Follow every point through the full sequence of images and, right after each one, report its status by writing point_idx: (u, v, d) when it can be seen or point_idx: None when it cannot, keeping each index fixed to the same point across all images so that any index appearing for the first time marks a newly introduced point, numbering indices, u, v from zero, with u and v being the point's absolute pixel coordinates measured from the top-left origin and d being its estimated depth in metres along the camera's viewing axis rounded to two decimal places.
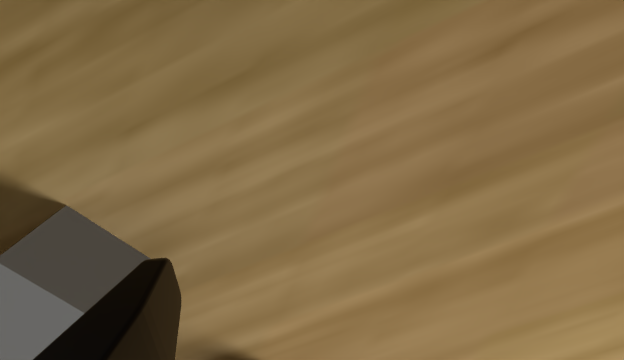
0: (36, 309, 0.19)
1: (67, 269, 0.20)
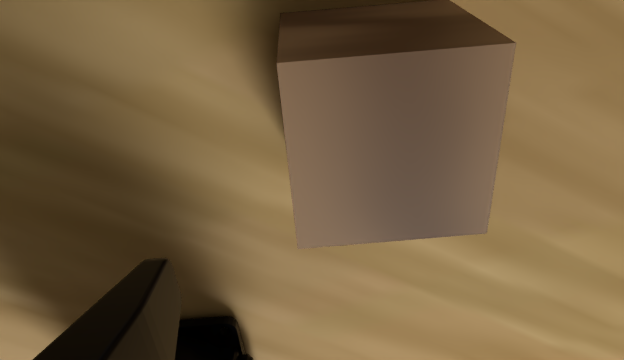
0: None
1: None
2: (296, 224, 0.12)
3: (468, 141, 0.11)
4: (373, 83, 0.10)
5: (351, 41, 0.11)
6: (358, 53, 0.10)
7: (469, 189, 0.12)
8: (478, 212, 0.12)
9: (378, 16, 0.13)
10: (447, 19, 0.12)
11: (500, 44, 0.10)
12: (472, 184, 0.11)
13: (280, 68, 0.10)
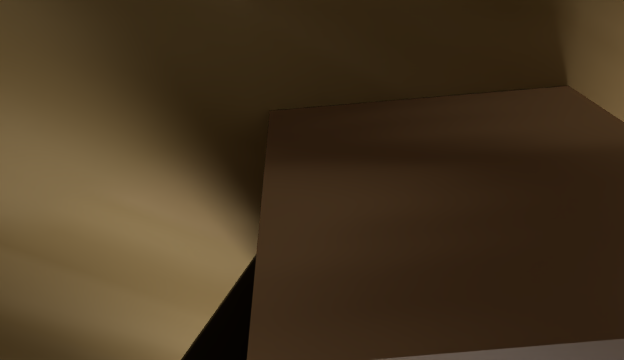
0: None
1: None
2: None
3: None
4: None
5: (431, 251, 0.04)
6: (468, 327, 0.04)
7: None
8: None
9: (460, 138, 0.06)
10: (618, 163, 0.06)
11: None
12: None
13: None
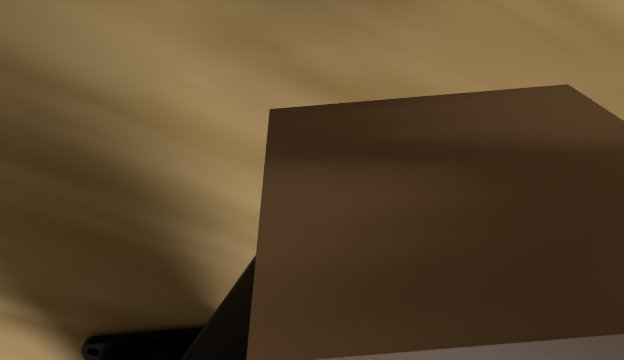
0: None
1: None
2: None
3: None
4: None
5: (430, 247, 0.04)
6: (468, 323, 0.04)
7: None
8: None
9: (459, 136, 0.06)
10: (617, 160, 0.06)
11: None
12: None
13: None
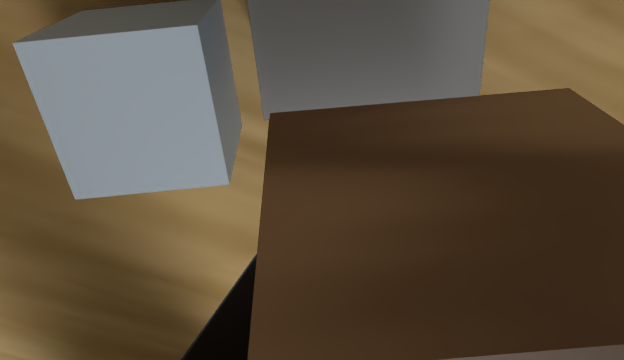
0: None
1: None
2: None
3: None
4: None
5: (432, 255, 0.04)
6: (468, 332, 0.04)
7: None
8: None
9: (460, 141, 0.06)
10: (618, 165, 0.06)
11: None
12: None
13: None
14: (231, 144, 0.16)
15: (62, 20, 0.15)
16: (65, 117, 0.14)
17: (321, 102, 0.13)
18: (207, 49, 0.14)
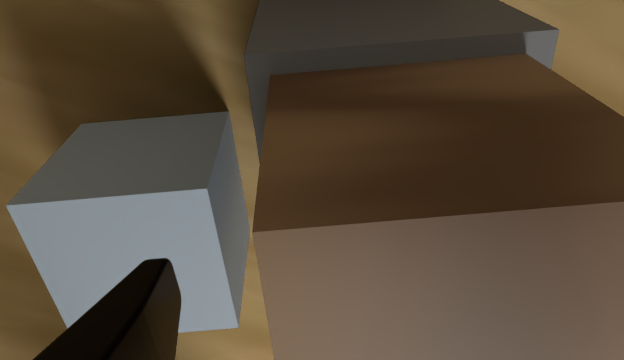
0: None
1: None
2: None
3: (609, 343, 0.06)
4: (444, 263, 0.05)
5: (395, 164, 0.06)
6: (417, 206, 0.05)
7: None
8: None
9: (428, 92, 0.08)
10: (553, 106, 0.07)
11: None
12: None
13: (260, 242, 0.05)
14: (240, 273, 0.15)
15: (60, 148, 0.14)
16: (63, 270, 0.13)
17: None
18: (217, 199, 0.13)
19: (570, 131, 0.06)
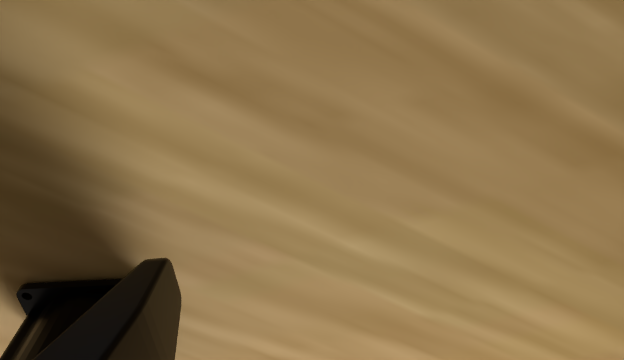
0: None
1: None
2: None
3: None
4: None
5: None
6: None
7: None
8: None
9: None
10: None
11: None
12: None
13: None
14: None
15: None
16: None
17: None
18: None
19: None
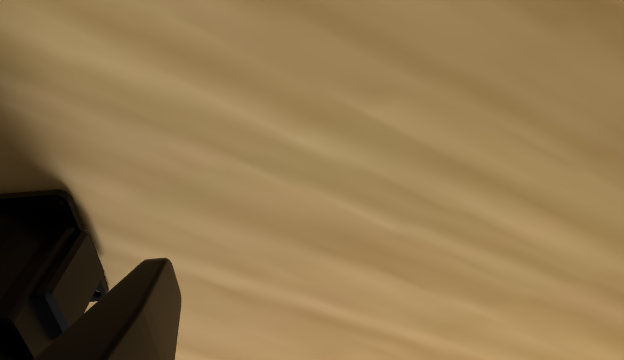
0: None
1: None
2: None
3: None
4: None
5: None
6: None
7: None
8: None
9: None
10: None
11: None
12: None
13: None
14: None
15: None
16: None
17: None
18: None
19: None
